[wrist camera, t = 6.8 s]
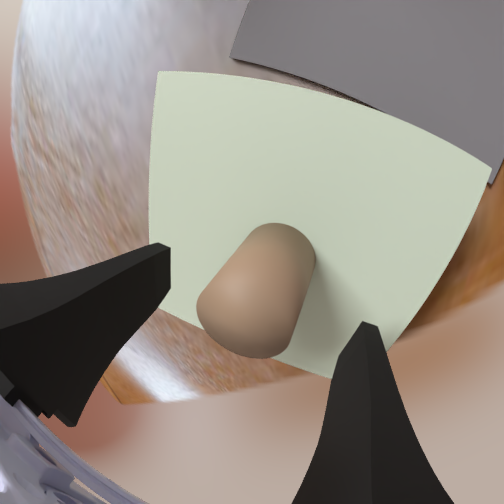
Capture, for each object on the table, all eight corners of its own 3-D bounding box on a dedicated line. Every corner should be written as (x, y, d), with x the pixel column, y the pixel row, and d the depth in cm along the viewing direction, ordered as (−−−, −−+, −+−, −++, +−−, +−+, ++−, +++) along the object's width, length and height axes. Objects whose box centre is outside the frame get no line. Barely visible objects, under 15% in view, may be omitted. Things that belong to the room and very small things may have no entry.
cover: (485, 164, 7) (554, 210, 3) (356, 378, 14) (344, 447, 10) (167, 71, 9) (79, 72, 5) (159, 299, 16) (113, 348, 13)
